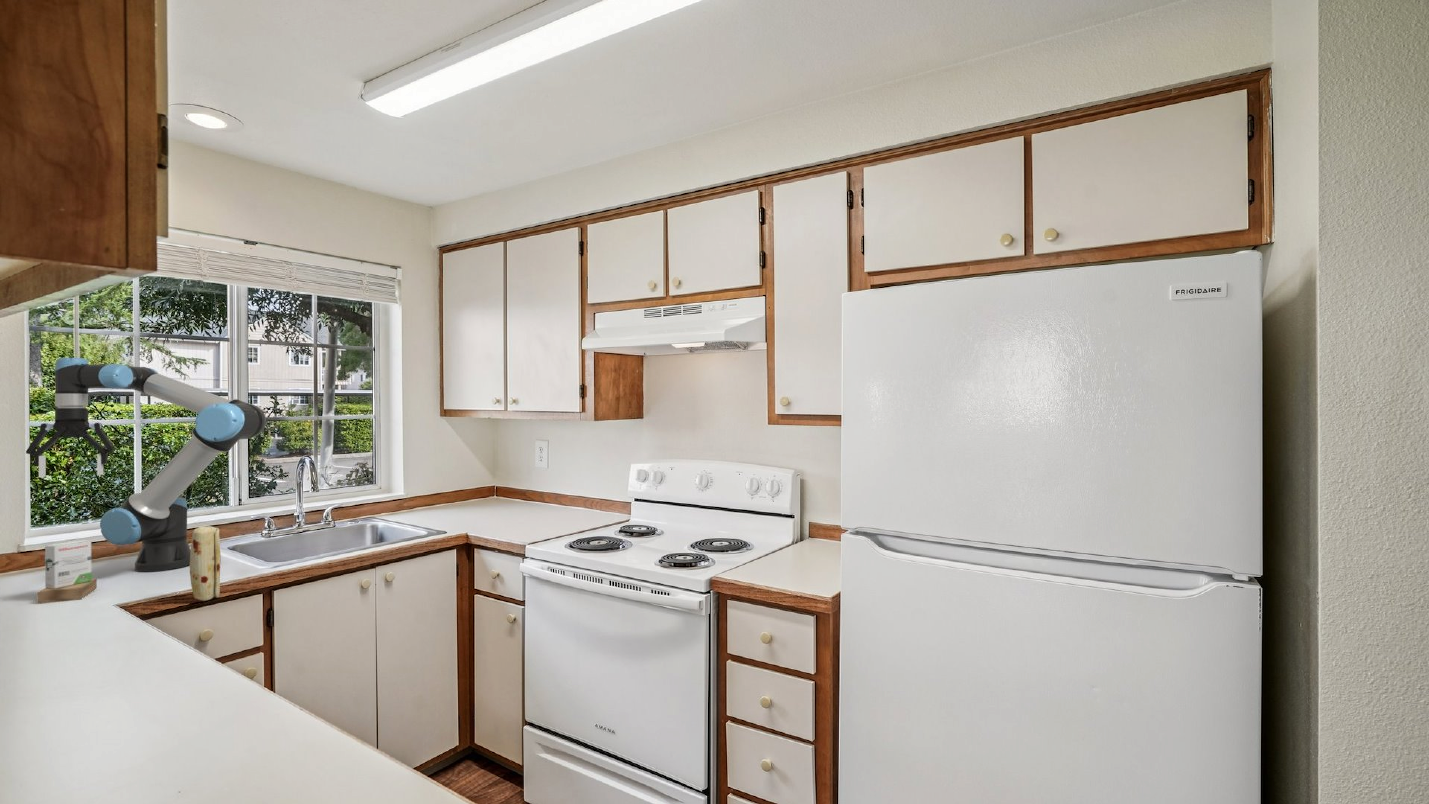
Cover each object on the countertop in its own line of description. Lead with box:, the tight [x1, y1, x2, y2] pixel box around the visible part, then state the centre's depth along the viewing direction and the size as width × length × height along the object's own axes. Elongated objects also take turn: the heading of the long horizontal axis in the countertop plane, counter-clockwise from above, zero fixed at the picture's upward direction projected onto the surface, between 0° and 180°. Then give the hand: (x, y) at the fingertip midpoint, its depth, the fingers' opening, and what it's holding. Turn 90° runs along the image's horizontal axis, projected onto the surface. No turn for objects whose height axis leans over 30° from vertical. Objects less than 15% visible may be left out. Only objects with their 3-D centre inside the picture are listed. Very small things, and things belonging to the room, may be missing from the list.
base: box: [37, 577, 98, 605], centre depth 190 cm, size 9×12×3 cm
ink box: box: [44, 539, 93, 589], centre depth 190 cm, size 9×5×12 cm, turn 159°
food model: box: [189, 525, 222, 603], centre depth 186 cm, size 10×7×20 cm
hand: (71, 475), depth 211 cm, fingers open, 13 cm apart
